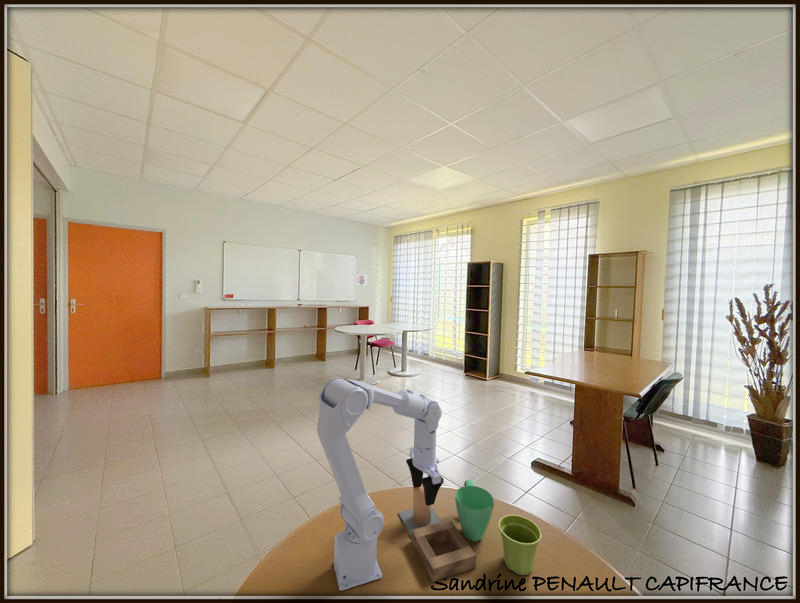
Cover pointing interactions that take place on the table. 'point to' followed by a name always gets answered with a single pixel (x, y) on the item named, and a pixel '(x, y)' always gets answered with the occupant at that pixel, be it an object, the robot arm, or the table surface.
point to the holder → (447, 562)
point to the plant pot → (519, 542)
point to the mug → (473, 510)
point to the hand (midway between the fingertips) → (423, 495)
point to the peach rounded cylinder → (420, 508)
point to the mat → (408, 519)
